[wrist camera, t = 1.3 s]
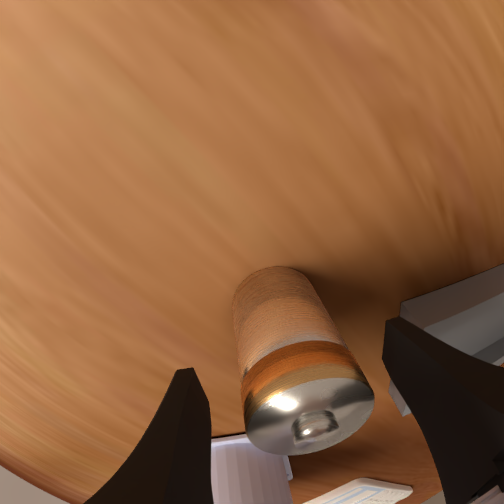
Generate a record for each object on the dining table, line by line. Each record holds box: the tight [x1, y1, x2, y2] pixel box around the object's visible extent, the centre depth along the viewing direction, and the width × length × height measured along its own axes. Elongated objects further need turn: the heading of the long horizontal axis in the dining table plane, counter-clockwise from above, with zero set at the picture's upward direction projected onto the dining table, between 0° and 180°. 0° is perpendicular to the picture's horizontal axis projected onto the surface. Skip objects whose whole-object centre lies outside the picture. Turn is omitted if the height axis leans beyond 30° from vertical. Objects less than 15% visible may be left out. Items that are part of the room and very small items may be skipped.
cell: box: [232, 267, 375, 455], centre depth 11 cm, size 4×4×8 cm
